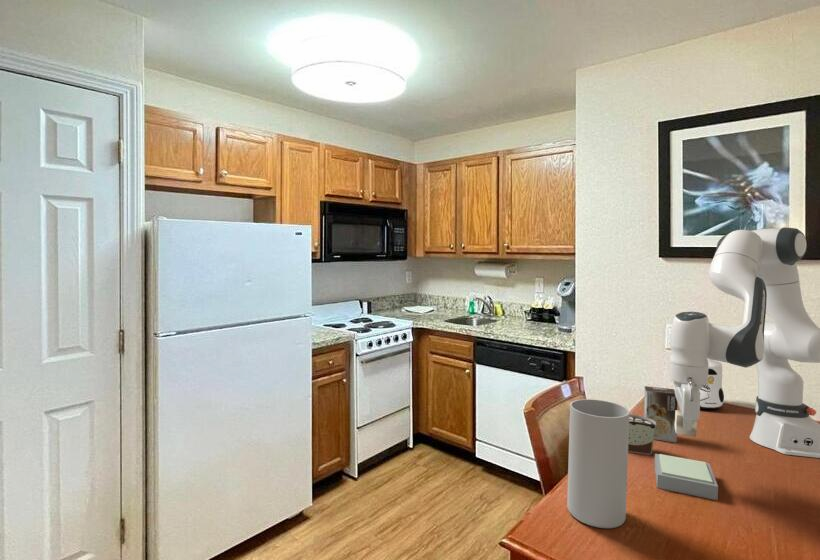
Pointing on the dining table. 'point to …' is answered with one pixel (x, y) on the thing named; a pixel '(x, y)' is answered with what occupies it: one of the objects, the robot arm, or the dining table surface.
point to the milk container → (712, 387)
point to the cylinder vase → (598, 462)
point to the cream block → (679, 425)
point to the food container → (641, 434)
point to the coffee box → (661, 411)
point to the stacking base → (685, 476)
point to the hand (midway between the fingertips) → (685, 425)
